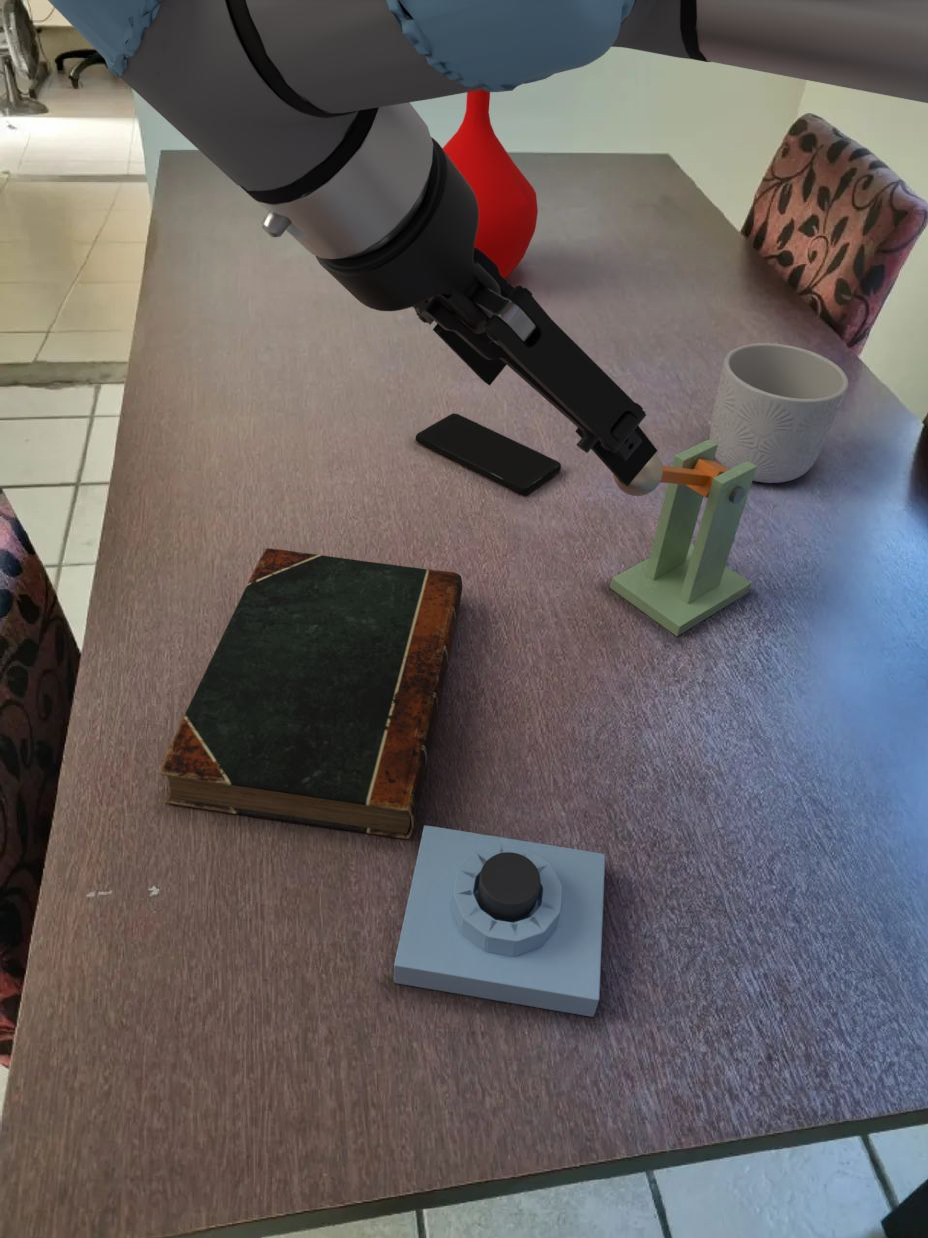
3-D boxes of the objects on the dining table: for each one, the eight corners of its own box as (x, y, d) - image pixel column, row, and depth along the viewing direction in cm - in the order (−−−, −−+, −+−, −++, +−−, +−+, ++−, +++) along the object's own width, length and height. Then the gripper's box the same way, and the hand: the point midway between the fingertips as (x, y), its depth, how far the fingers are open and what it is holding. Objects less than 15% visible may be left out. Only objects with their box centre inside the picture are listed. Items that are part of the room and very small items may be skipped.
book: (267, 577, 83) (163, 804, 64) (264, 545, 81) (154, 771, 62) (462, 603, 82) (413, 841, 63) (464, 571, 80) (414, 809, 61)
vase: (418, 306, 127) (425, 53, 107) (392, 253, 140) (394, 19, 120) (546, 299, 131) (576, 55, 111) (510, 249, 144) (531, 22, 124)
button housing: (600, 872, 63) (610, 837, 60) (593, 1018, 55) (604, 985, 52) (423, 843, 63) (425, 807, 61) (393, 983, 56) (393, 949, 53)
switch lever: (631, 503, 67) (654, 458, 66) (596, 480, 69) (617, 436, 68) (725, 509, 78) (746, 470, 76) (692, 489, 80) (712, 450, 78)
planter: (826, 499, 98) (862, 405, 90) (707, 489, 98) (734, 394, 90) (802, 437, 107) (833, 347, 99) (693, 427, 107) (716, 337, 100)
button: (539, 873, 58) (543, 856, 57) (534, 925, 55) (537, 909, 54) (482, 863, 58) (484, 847, 57) (474, 915, 56) (476, 899, 55)
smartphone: (524, 491, 94) (412, 434, 100) (524, 497, 94) (412, 441, 101) (564, 463, 98) (454, 411, 104) (563, 470, 98) (453, 417, 105)
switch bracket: (676, 636, 80) (715, 504, 71) (609, 587, 85) (637, 456, 76) (748, 592, 85) (793, 463, 76) (681, 548, 90) (716, 421, 81)
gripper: (200, 176, 50) (417, 375, 67) (481, 381, 36) (664, 566, 53) (286, 58, 49) (484, 290, 66) (610, 220, 35) (753, 462, 52)
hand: (564, 413), depth 60 cm, fingers open, 13 cm apart
